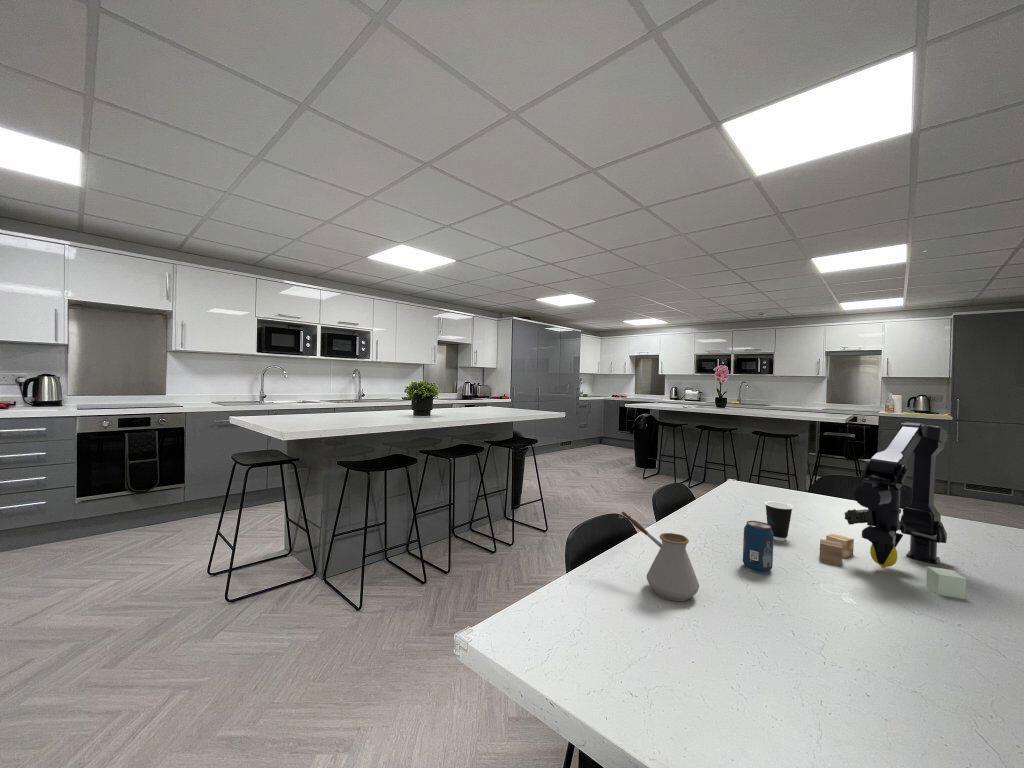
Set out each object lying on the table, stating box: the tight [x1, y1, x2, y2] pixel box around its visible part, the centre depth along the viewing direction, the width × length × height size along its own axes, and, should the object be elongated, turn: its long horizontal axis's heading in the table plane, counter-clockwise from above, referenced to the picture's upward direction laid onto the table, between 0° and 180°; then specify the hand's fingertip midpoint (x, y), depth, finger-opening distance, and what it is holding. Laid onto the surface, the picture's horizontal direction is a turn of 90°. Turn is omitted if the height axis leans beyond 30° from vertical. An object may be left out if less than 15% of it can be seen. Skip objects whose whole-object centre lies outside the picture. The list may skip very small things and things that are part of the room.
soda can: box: [742, 520, 774, 574], centre depth 113 cm, size 7×7×12 cm
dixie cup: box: [764, 500, 794, 542], centre depth 137 cm, size 8×8×11 cm
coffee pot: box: [618, 511, 700, 602], centre depth 101 cm, size 21×12×15 cm, turn 37°
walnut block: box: [819, 538, 843, 566], centre depth 120 cm, size 5×5×5 cm
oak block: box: [825, 533, 855, 559], centre depth 126 cm, size 5×5×5 cm
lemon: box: [869, 543, 898, 569], centre depth 114 cm, size 6×6×8 cm
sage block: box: [925, 566, 967, 600], centre depth 103 cm, size 5×5×5 cm
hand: (883, 561), depth 114 cm, fingers closed on lemon, 5 cm apart
